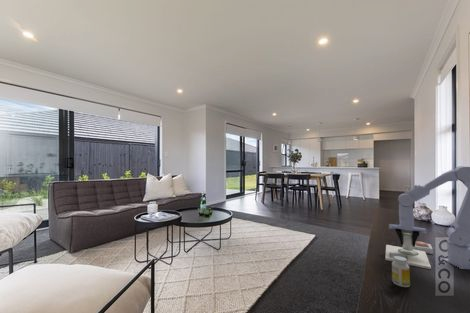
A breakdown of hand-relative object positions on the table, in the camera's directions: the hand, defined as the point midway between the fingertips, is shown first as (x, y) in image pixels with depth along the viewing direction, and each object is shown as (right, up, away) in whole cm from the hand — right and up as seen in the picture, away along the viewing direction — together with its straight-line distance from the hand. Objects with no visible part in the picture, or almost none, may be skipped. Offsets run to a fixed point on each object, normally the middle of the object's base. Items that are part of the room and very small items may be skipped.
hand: (407, 245), depth 106 cm
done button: (+11, -2, +5) cm, 13 cm away
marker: (0, -2, 0) cm, 2 cm away
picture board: (-3, -4, -3) cm, 6 cm away
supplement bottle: (-24, -4, -26) cm, 35 cm away
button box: (+11, -5, +5) cm, 13 cm away
